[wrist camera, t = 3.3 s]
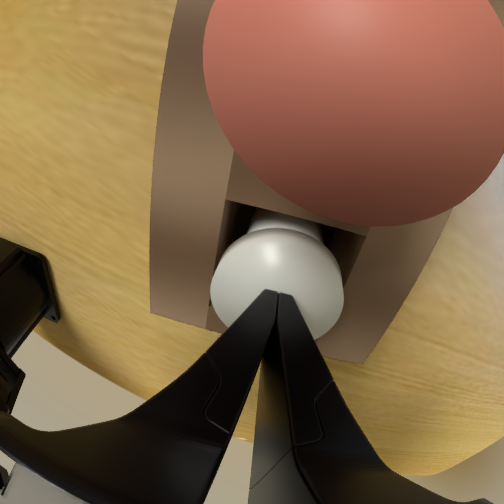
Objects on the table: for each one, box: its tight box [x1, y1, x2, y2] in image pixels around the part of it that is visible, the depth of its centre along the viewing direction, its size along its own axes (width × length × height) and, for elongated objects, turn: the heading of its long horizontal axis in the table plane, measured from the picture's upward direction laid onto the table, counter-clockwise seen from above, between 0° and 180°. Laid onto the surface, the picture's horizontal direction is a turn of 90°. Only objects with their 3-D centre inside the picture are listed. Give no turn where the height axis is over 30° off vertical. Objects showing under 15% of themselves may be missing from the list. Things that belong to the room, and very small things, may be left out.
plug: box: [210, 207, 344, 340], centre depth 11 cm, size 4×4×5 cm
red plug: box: [203, 0, 504, 227], centre depth 5 cm, size 4×4×5 cm
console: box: [150, 0, 504, 364], centre depth 8 cm, size 20×9×4 cm, turn 169°
